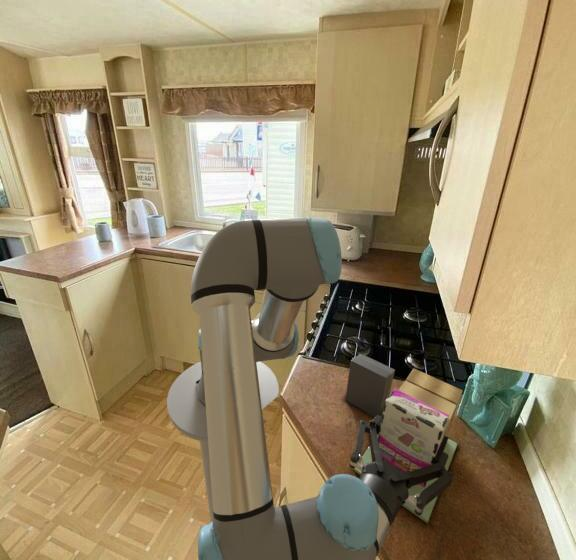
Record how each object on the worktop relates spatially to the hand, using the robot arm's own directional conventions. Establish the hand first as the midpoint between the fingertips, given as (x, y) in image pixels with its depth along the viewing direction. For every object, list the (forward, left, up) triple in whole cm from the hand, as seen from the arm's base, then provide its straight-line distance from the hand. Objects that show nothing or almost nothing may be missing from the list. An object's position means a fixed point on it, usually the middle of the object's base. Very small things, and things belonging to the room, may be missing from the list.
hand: (416, 425), depth 67 cm
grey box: (-15, +10, -12) cm, 21 cm away
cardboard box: (0, +6, -11) cm, 13 cm away
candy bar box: (0, -4, -8) cm, 9 cm away
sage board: (0, +1, -12) cm, 12 cm away
